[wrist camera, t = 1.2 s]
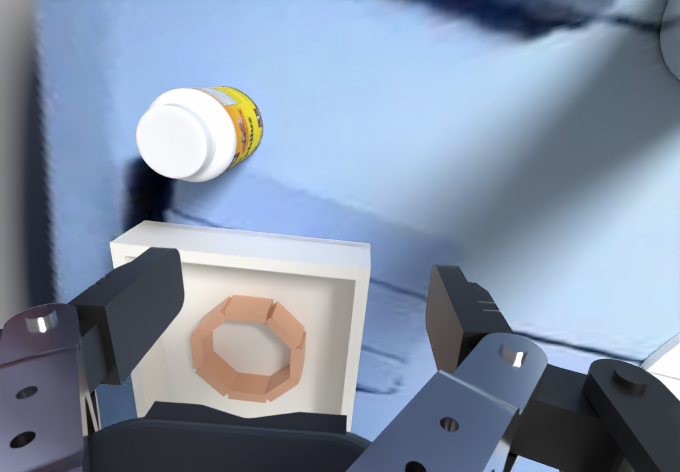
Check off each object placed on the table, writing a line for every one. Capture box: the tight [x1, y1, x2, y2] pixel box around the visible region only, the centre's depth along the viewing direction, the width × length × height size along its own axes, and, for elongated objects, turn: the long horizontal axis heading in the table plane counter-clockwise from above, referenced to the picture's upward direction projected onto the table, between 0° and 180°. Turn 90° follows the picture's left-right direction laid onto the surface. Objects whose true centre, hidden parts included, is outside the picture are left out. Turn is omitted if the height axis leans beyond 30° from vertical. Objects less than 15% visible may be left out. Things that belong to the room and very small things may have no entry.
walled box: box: [110, 220, 371, 432], centre depth 36 cm, size 22×20×5 cm
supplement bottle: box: [136, 86, 264, 182], centre depth 26 cm, size 6×6×10 cm
